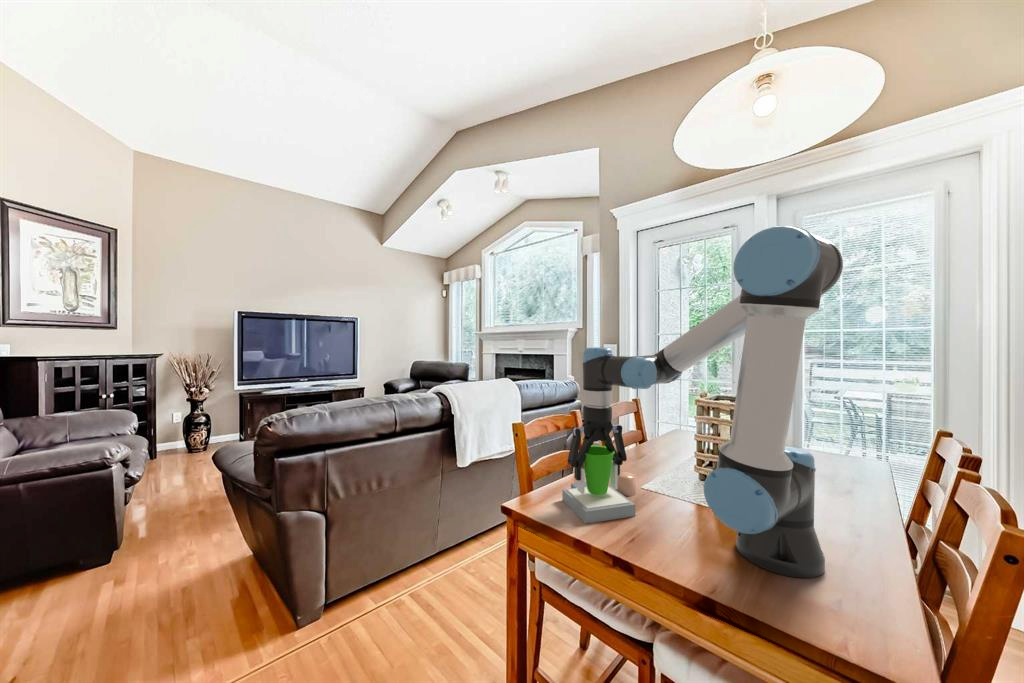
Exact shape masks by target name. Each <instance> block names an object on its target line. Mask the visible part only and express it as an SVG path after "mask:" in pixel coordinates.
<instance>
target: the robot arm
mask: <svg viewBox="0 0 1024 683" xmlns="http://www.w3.org/2000/svg"><path fill="white" fill-rule="evenodd" d="M842 256H843V255H842V254H841V252H840V250H839V249H838V247H837V246H836V244H834V243H833V242H831V241H830V240H829V239H826V238H823V237H821V236H818V235H814V234H813V233H812V232H811V231H808V230H807V229H804V228H802V227H801V228H800V227H796V226H787V225H779V226H778V225H777V226H772V227H768V228H766V229H762V230H760V231H758V232H757V233H755V234H754V235H752V236H751V237H750V238H749V239H747V240H745V242H744V243H743V244H742V245H741V247H740V248H739V250H738V251H737V253H736V255H735V258H734V262H733V268H732V269H733V275H734V279H735V281H736V282H737V283H738V286H740V288H741V290H740V295H738V296H736V297H735V298H734V299H732V300H731V301H730V302H728V303H727V304H725V305H723V306H722V307H721V308H720V309H719V308H718V310H717V311H715V312H714V313H712V314H710V315H709V316H708V317H706V318H705V319H703V320H702V321H700V322H699V323H698V324H697V325H695V326H693V327H692V328H691V329H689V330H688V331H686V332H685V333H684V334H682V335H680V336H679V337H678V338H676V339H675V340H673V341H672V342H670V343H669V344H668V345H666V346H665V347H664V348H662V349H660V350H659V351H658V352H656V353H654V354H652V355H650V354H649V355H635V356H624V355H623V356H622V355H621V356H619V355H618V356H617V355H613V350H612V348H610V347H586V348H585V349H584V350H583V356H582V357H583V358H582V376H583V377H582V381H583V382H582V383H583V384H582V389H583V390H582V397H583V398H582V404H584V405H583V407H582V420H583V424H582V426H580V427H579V426H578V427H576V426H573V427H572V429H571V430H572V438H571V442H570V447H569V454H568V457H567V465H569V466H570V467H572V468H574V470H573V471H574V473H573V474H574V479H575V480H576V483H577V490H578V491H579V492H580V493H581V494H585V482H586V477H585V469H584V464H583V463H584V461H585V458H586V454H585V453H587V454H588V452H589V449H590V447H591V446H593V445H594V443H596V442H599V441H601V442H603V444H604V446H605V447H606V448H607V450H608V451H609V452H611V453H612V451H613V450H614V451H615V453H614V454H613V460H612V466H611V472H610V478H609V486H610V487H612V488H613V489H615V490H616V489H618V476H619V475H620V472H621V466H622V465H623V462H626V461H627V460H628V458H627V453H626V448H625V443H624V439H623V438H624V437H623V426H622V425H620V424H618V423H614V424H613V423H612V419H613V408H612V406H611V405H613V386H617V387H624V388H631V389H633V390H639V389H640V390H648V389H650V388H651V387H652V386H653V385H658V384H660V385H661V384H670V383H671V382H675V381H677V380H678V379H679V378H681V376H682V373H683V372H685V371H686V370H689V369H690V368H692V367H693V366H694V365H697V364H698V363H700V362H701V361H703V360H705V359H706V358H709V356H711V355H713V354H715V353H717V352H718V351H719V350H721V349H723V348H725V347H726V346H728V345H730V344H731V343H733V342H734V341H736V340H738V339H740V338H741V337H743V336H744V338H743V345H742V346H743V347H742V352H741V358H740V359H741V360H740V365H739V374H738V380H737V388H736V394H735V399H734V400H735V401H734V408H733V416H732V422H731V430H730V437H729V440H727V441H725V442H724V443H722V444H720V446H719V448H718V449H719V450H718V455H717V456H718V457H717V464H716V469H713V470H712V471H710V472H709V473H708V475H707V476H706V478H705V480H704V483H703V496H704V498H705V501H706V504H707V506H708V507H709V509H710V510H711V511H712V512H713V515H714V516H715V517H716V518H717V519H718V520H719V521H720V522H721V523H722V524H723V525H724V526H726V527H728V528H729V529H731V530H733V531H736V532H737V533H736V544H735V545H736V549H737V551H738V552H739V554H740V555H741V556H743V557H744V558H745V559H746V560H747V561H748V562H750V563H752V564H754V565H756V566H757V567H760V568H762V569H764V570H766V571H770V572H772V573H775V574H778V575H780V576H781V575H782V576H785V577H786V576H787V577H791V578H800V579H811V578H816V577H820V576H821V575H823V574H824V573H825V571H826V568H825V567H826V559H825V558H826V557H825V554H824V552H823V550H822V547H821V544H820V541H819V539H818V535H817V532H816V529H815V488H816V487H815V484H816V483H815V482H816V481H815V479H816V476H815V474H816V471H817V468H816V465H815V457H814V455H813V454H812V453H811V452H809V451H807V450H804V449H802V448H799V447H798V448H796V447H793V446H789V445H786V444H787V441H788V440H787V439H788V432H789V425H790V420H791V414H792V408H793V402H794V394H795V389H796V385H797V384H796V383H797V382H796V381H797V377H798V370H799V364H800V359H801V358H800V357H801V351H802V344H803V339H804V333H805V326H806V320H807V319H808V318H809V317H810V316H812V315H813V314H815V313H817V312H818V311H819V310H820V305H821V299H822V295H825V294H826V293H827V292H828V291H830V290H831V289H832V288H833V287H834V286H835V285H836V283H837V282H838V281H839V279H840V277H841V276H842V272H843V268H844V261H843V260H844V259H843V257H842ZM611 432H612V435H613V439H614V443H615V444H614V443H613V440H612V438H611V435H610V433H611ZM583 433H584V436H583ZM582 436H583V437H582ZM582 438H583V440H582ZM581 440H582V444H581ZM580 445H581V446H580Z"/></svg>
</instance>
